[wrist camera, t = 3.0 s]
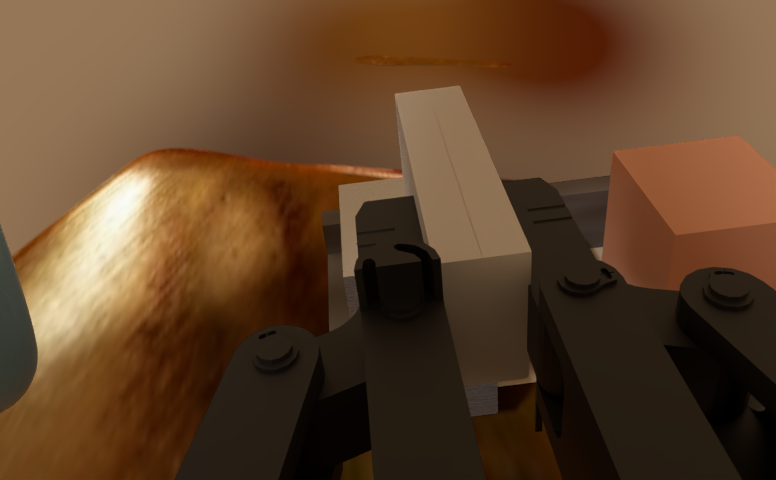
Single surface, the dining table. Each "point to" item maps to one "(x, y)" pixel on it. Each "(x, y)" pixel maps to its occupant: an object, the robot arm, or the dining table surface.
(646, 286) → the terracotta plunger
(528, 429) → the dining table surface
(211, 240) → the dining table surface
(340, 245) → the base
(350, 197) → the gray block
